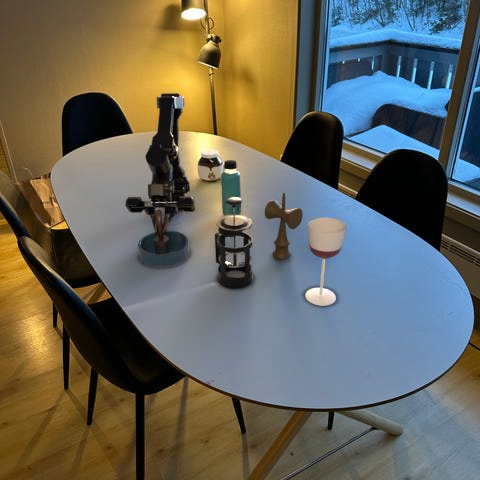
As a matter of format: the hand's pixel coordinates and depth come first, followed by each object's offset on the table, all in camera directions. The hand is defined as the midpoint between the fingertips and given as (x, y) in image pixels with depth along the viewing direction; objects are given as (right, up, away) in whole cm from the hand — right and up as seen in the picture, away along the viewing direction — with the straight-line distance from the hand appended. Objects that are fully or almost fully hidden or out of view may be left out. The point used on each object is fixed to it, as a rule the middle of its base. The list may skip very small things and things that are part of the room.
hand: (159, 233), depth 122 cm
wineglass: (+42, -16, -11) cm, 46 cm away
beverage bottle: (+19, +5, +30) cm, 36 cm away
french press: (+20, -12, -3) cm, 24 cm away
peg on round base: (0, -6, +5) cm, 7 cm away
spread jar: (+11, +22, +63) cm, 67 cm away
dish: (0, -6, +8) cm, 10 cm away
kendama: (+34, -7, +6) cm, 35 cm away
